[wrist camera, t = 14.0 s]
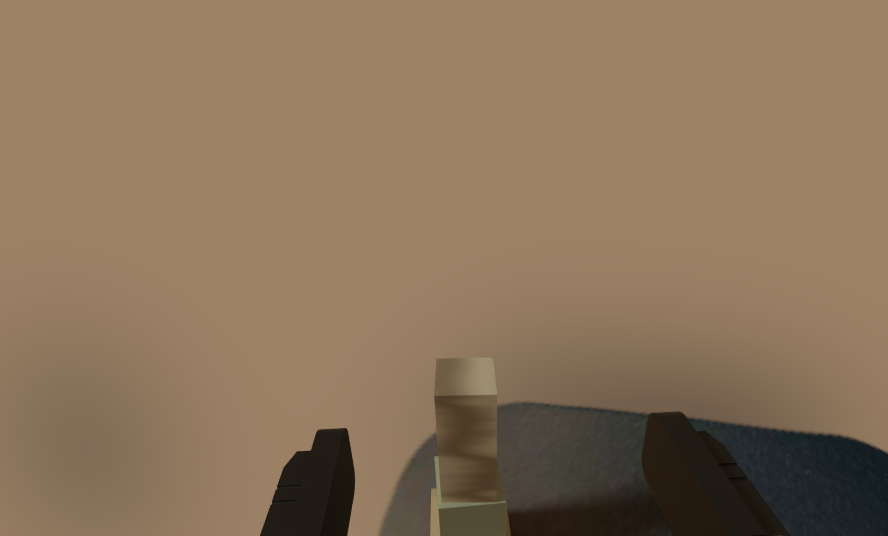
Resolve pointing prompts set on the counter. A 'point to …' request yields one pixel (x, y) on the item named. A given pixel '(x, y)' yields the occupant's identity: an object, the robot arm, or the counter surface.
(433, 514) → the oak block
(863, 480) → the counter surface
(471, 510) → the sage block
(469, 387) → the birch pillar
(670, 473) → the robot arm
